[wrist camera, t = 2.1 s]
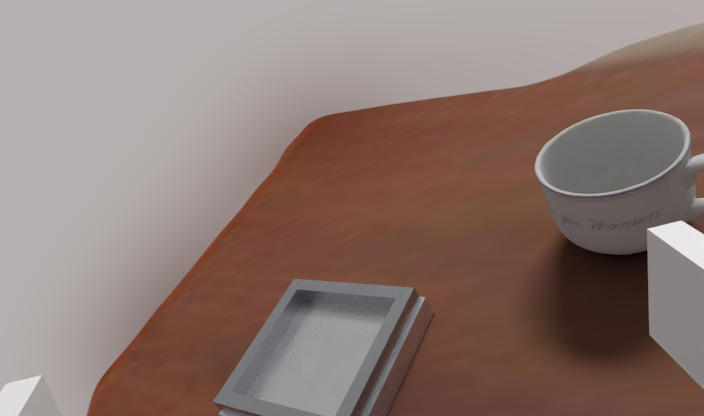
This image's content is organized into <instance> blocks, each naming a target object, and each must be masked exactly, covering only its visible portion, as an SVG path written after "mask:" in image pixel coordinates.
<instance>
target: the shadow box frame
mask: <svg viewBox="0 0 704 416" xmlns="http://www.w3.org/2000/svg"><path fill="white" fill-rule="evenodd" d="M433 314H434V311H433V310H432V308H431V306H430V304H429V303H428V301H427V299H426V297H419V295H418V294H417V292H416V290H415V289H414V288H410V287H397V286H383V285H370V284H356V283H343V282H329V281H316V280H302V279H294V280H293V282H292V283H291V285H290V286H289V288H288V289H287V291H286V292H285V294H284V295H283V297H282V298H281V300H280V301H279V303H278V304H277V306H276V307H275V309H274V310H273V312H272V313H271V315H270V316H269V318H268V319H267V321H266V323H265V324H264V326H263V327H262V329H261V330H260V332H259V333H258V335H257V336H256V338H255V339H254V341H253V342H252V344H251V345H250V347H249V348H248V350H247V351H246V353H245V354H244V356H243V357H242V359H241V360H240V362H239V363H238V365H237V366H236V368H235V370H234V371H233V373H232V374H231V376H230V377H229V379H228V380H227V382H226V383H225V385H224V386H223V388H222V389H221V391H220V392H219V394H218V395H217V397H216V398H215V400H214V401H213V402H214V403H215V404H216V405H217V406H218V407H219V408H220V409H221V412H220V413H219V415H220V416H387V414H388V412H389V410H390V408H391V406H392V403H393V401H394V399H395V397H396V395H397V393H398V390H399V388H400V386H401V384H402V382H403V380H404V377H405V375H406V373H407V371H408V369H409V367H410V364H411V362H412V360H413V358H414V356H415V353H416V351H417V349H418V347H419V345H420V343H421V340H422V338H423V336H424V334H425V332H426V330H427V327H428V325H429V323H430V321H431V319H432V316H433Z"/></svg>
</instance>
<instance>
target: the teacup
mask: <svg viewBox="0 0 704 416" xmlns="http://www.w3.org/2000/svg"><path fill="white" fill-rule="evenodd" d="M690 147H691V135H690V132H689V130H688V128H687V126H686V125H685V124H684V123H683V122H682V121H681V120H679V119H677V118H676V117H674V116H671V115H669V114H666V113H663V112H658V111H653V110H623V111H615V112H611V113H606V114H601V115H598V116H595V117H591V118H588V119H586V120H583V121H581V122H578V123H577V124H574V125H572V126H570V127H569V128H567V129H565V130H563V131H562V132H561V133H559V134H558V135H556V136H555V137H554V138H553V139H551V140H550V141H549V142H548V143H546V144H545V145H544V146H543V149H542V150H541V151H540V153H539V155H538V156H537V159H536V162H535V173H536V176H537V179H538V181H539V182H540V183H541V186H542V189H543V192H544V195H545V198H546V201H547V204H548V207H549V209H550V212H551V214H552V216H553V219H554V221H555V223H556V225H557V226H558V228H559V230H560V231H561V232H562V233H563V235H564V236H565V237H566V238H568V239H569V240H570V241H571V242H573V243H574V244H576V245H578V246H580V247H582V248H584V249H587V250H590V251H593V252H598V253H604V254H615V255H625V254H633V253H638V252H642V251H646V250H647V229H648V228H653V227H657V226H661V225H665V224H669V223H673V222H677V221H681V220H682V221H683V222H685V223H687V222H689V221H697V220H699V219H700V218H701V217H702V216H703V215H704V198H696V183H695V181H696V177H697V174H698V173H700V172H702V171H704V154H701V155H698V156H695V157H693V158H692V154H691V148H690Z"/></svg>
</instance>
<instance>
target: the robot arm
mask: <svg viewBox="0 0 704 416" xmlns="http://www.w3.org/2000/svg"><path fill="white" fill-rule="evenodd" d="M647 252H648V299H649V335H650V336H651V337H652V338H653V339H654V340H655V341H656V342H657V343H658V344H659V345H660V346H661V347H662V348H663V349H664V350H665V351H666V352H667V353H668V354H669V355H670V356H671V357H672V358H673V359H674V360H675V361H676V362H677V363H678V364H679V365H680V366H681V367H682V368H683V369H684V370H685V371H686V372H687V373H688V374H689V375H690V376H691V377H692V378H693V379H694V380H695V381H696V382H697V383H698V384H699V385H700V386H701V387H702V388H703V389H704V234H702V233H701V232H699V231H697V230H696V229H694V228H693V227H691V226H690V225H688V224H686V223H685V222H683V221H682V220H681V221H677V222H673V223H669V224H665V225H661V226H657V227H653V228H648V229H647ZM0 416H63V415H62V413H61V411H60V409H59V407H58V405H57V403H56V401H55V399H54V398H53V395H52V394H51V392H50V390H49V388H48V386H47V384H46V382H45V380H44V378H43V376H42V375H41V376H37V377H32V378H28V379H25V380H20V381H16V382H12V383H8V384H6V385H5V386H4V388H3V389H2V391H1V392H0Z"/></svg>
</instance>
